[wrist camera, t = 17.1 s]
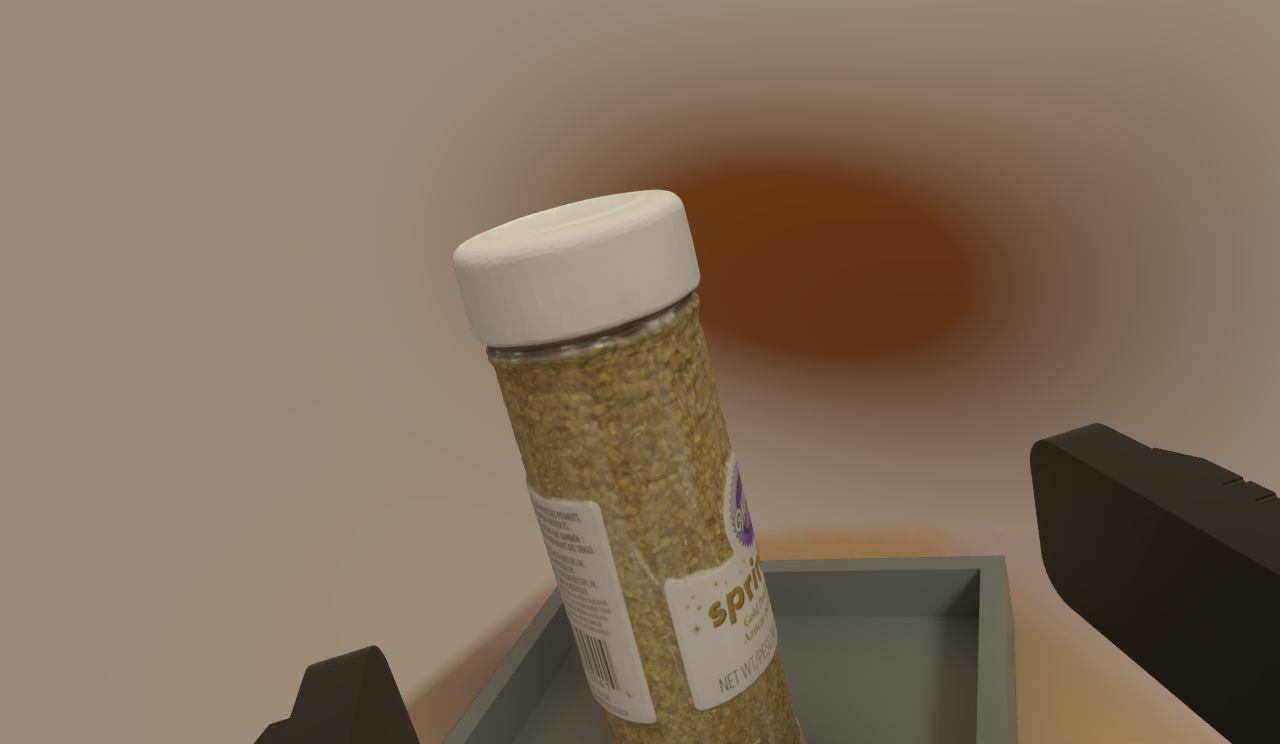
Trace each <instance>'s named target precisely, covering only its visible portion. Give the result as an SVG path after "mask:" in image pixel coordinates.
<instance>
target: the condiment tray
mask: <svg viewBox="0 0 1280 744" xmlns="http://www.w3.org/2000/svg"><path fill="white" fill-rule="evenodd" d="M760 562H761V567H762V571H763V575H764V579H765V583H766V587H767V591H768V595H769V599H770V604H771V608H772V612H773V616H774V620H775V624H776V630H777V646H778V649H779V653H780V657H781V662H782V665H783V668H784V671H785V681H786V683H787V686H788V691H789V695H790V699H791V703H792V707H793V712H794V715H795V717H796V718H797V719H798V721H799V724H800V726H801V728H802V730H803V732H804V735H805V739H806V742H807V744H1017V718H1016V686H1015V654H1014V622H1013V612H1012V605H1011V598H1010V590H1009V583H1008V576H1007V568H1006V561H1005V556H964V557H916V558H869V559H821V560H774V561H760ZM443 744H612V743H611V740H610V737H609V732H608V729H607V726H606V723H605V720H604V717H603V714H602V711H601V708H600V704H599V702H598V701H597V700H596V699H595V697H594V695H593V693H592V691H591V689H590V686H589V683H588V680H587V677H586V674H585V671H584V667H583V664H582V661H581V658H580V654H579V651H578V648H577V645H576V641H575V638H574V635H573V632H572V629H571V625H570V622H569V619H568V616H567V613H566V609H565V606H564V603H563V600H562V597H561V594H560V590H559V587H558V586H557V588H556V589H555V591H554V592H553V593H552V595H551V596H550V597H549V599H548V600H547V601H546V603H545V604H544V606H543V607H542V608H541V610H540V611H539V612H538V614H537V615H536V616H535V618H534V619H533V621H532V622H531V623H530V625H529V626H528V627H527V629H526V630H525V632H524V633H523V634H522V636H521V637H520V638H519V640H518V641H517V642H516V644H515V645H514V647H513V648H512V649H511V651H510V652H509V653H508V655H507V656H506V657H505V659H504V660H503V662H502V663H501V664H500V666H499V667H498V668H497V670H496V671H495V673H494V674H493V675H492V677H491V678H490V679H489V681H488V682H487V683H486V685H485V686H484V688H483V689H482V690H481V692H480V693H479V694H478V696H477V697H476V698H475V700H474V701H473V703H472V704H471V705H470V707H469V708H468V709H467V711H466V712H465V714H464V715H463V716H462V718H461V719H460V720H459V722H458V723H457V724H456V726H455V727H454V729H453V730H452V731H451V733H450V734H449V735H448V737H447V738H446V739H445V741H444V742H443Z"/></svg>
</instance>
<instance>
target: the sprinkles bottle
mask: <svg viewBox="0 0 1280 744" xmlns="http://www.w3.org/2000/svg"><path fill="white" fill-rule="evenodd" d="M453 267H454V270H455V274H456V278H457V281H458V285H459V289H460V292H461V296H462V299H463V303H464V306H465V310H466V313H467V316H468V320H469V323H470V326H471V330H472V332H473V336H474V337H475V339H476V340H477V341H479V342H480V343H482V344H484V345H487V349H486V353H487V355H488V360H489V362H490V363H491V364H492V365H493V366H494V368H495V371H496V374H497V379H498V383H499V385H500V388H501V391H502V395H503V400H504V403H505V405H506V407H507V410H508V414H509V418H510V421H511V424H512V428H513V430H514V435H515V439H516V442H517V444H518V447H519V450H520V453H521V455H522V461H523V464H524V467H525V470H526V474H527V476H526V482H527V488H528V491H529V494H530V498H531V501H532V504H533V507H534V510H535V513H536V517H537V519H538V523H539V526H540V529H541V532H542V535H543V539H544V542H545V545H546V548H547V551H548V555H549V558H550V561H551V564H552V568H553V571H554V574H555V577H556V581H557V584H558V587H559V590H560V594H561V597H562V600H563V603H564V606H565V609H566V613H567V616H568V619H569V622H570V625H571V629H572V632H573V635H574V638H575V641H576V645H577V648H578V651H579V654H580V658H581V661H582V664H583V667H584V671H585V674H586V677H587V680H588V683H589V686H590V689H591V691H592V693H593V695H594V697H595V699H596V700H597V701H598V702H599V704H600V708H601V711H602V714H603V717H604V720H605V723H606V726H607V729H608V732H609V737H610V740H611V743H612V744H807V742H806V739H805V735H804V732H803V730H802V728H801V726H800V724H799V721H798V719H797V718H796V717H795V715H794V712H793V707H792V703H791V699H790V695H789V691H788V686H787V683H786V681H785V671H784V668H783V665H782V662H781V657H780V653H779V649H778V646H777V630H776V624H775V620H774V616H773V612H772V608H771V604H770V599H769V595H768V591H767V587H766V583H765V579H764V575H763V571H762V567H761V562H760V558H759V554H758V549H757V544H756V540H755V535H754V532H753V528H752V524H751V520H750V515H749V511H748V507H747V503H746V499H745V496H744V492H743V487H742V483H741V479H740V475H739V471H738V467H737V462H736V458H735V455H734V452H733V450H732V448H731V445H730V442H729V438H728V435H727V431H726V426H725V425H726V424H725V420H724V417H723V414H722V410H721V404H720V399H719V394H718V391H717V388H716V384H715V379H714V377H713V374H712V365H711V362H710V360H709V356H708V352H707V347H706V341H705V338H704V334H703V329H702V326H701V324H700V320H699V313H698V310H699V298H698V295H697V293H695V292H692V291H693V290H694V289H695V288H696V287H697V285H698V283H699V281H700V273H699V268H698V264H697V259H696V255H695V250H694V245H693V241H692V237H691V234H690V229H689V226H688V222H687V217H686V214H685V210H684V206H683V204H682V201H681V199H680V198H679V197H678V196H677V195H675V194H674V193H672V192H669V191H664V190H648V191H647V190H646V191H637V192H629V193H623V194H615V195H608V196H603V197H598V198H593V199H589V200H584V201H579V202H575V203H571V204H568V205H563V206H560V207H556V208H552V209H549V210H545V211H542V212H538V213H535V214H531V215H528V216H525V217H522V218H519V219H517V220H514V221H511V222H508V223H506V224H503V225H501V226H498V227H495V228H493V229H490V230H488V231H486V232H483V233H481V234H478V235H476V236H474V237H473V238H471V239H469V240H467V241H465V242H464V243H462V244H461V245H460V246H459V247H458V248H457V249H456V251H455V253H454V255H453Z"/></svg>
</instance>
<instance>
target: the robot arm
mask: <svg viewBox="0 0 1280 744" xmlns="http://www.w3.org/2000/svg"><path fill="white" fill-rule="evenodd" d="M1030 466H1031V474H1032V482H1033V489H1034V497H1035V506H1036V514H1037V522H1038V530H1039V538H1040V546H1041V553H1042V559H1043V563H1044V566H1045V569H1046V572H1047V574H1048V576H1049V579H1050V581H1051V583H1052V584H1053V586H1054V588H1055V590H1056V591H1057V593H1058V594H1059V595H1060V597H1061V598H1062V599H1063V601H1064V602H1065V603H1066V604H1067V605H1068V606H1069V607H1070V608H1072V609H1073V610H1074V611H1075V612H1076V613H1078V614H1079V615H1080V616H1081V617H1082V618H1083V619H1085V620H1086V621H1087V622H1088V623H1089V624H1091V625H1092V626H1093V627H1094V628H1095V629H1096V630H1098V631H1099V632H1100V633H1101V634H1102V635H1104V636H1105V637H1106V638H1107V639H1108V640H1110V641H1111V642H1112V643H1113V644H1114V645H1115V646H1117V647H1118V648H1119V649H1120V650H1121V651H1123V652H1124V653H1125V654H1126V655H1127V656H1128V657H1130V658H1131V659H1132V660H1133V661H1134V662H1136V663H1137V664H1138V665H1139V666H1140V667H1142V668H1143V669H1144V670H1145V671H1146V672H1147V673H1149V674H1150V675H1151V676H1152V677H1153V678H1155V679H1156V680H1157V681H1158V682H1159V683H1161V684H1162V685H1163V686H1164V687H1165V688H1166V689H1168V690H1169V691H1170V692H1171V693H1172V694H1174V695H1175V696H1176V697H1177V698H1178V699H1179V700H1181V701H1182V702H1183V703H1184V704H1185V705H1187V706H1188V707H1189V708H1190V709H1191V710H1193V711H1194V712H1195V713H1196V714H1197V715H1198V716H1200V717H1201V718H1202V719H1203V720H1204V721H1206V722H1207V723H1208V724H1209V725H1210V726H1211V727H1213V728H1214V729H1215V730H1216V731H1217V732H1219V733H1220V734H1221V735H1222V736H1223V737H1225V738H1226V739H1227V740H1228V741H1229V742H1230V743H1232V744H1280V498H1278V497H1277V496H1276V493H1274V492H1273V491H1271V490H1268V489H1266V488H1264V487H1262V486H1260V485H1258V484H1256V483H1254V482H1252V481H1249V482H1245V481H1244V480H1243V477H1241V476H1239V475H1237V474H1235V473H1233V472H1231V471H1229V470H1227V469H1225V468H1222V467H1220V466H1218V465H1216V464H1214V463H1212V462H1209V461H1207V460H1205V459H1203V458H1198V457H1194V456H1190V455H1185V454H1180V453H1175V452H1171V451H1167V450H1162V449H1158V448H1153V449H1152V448H1150V447H1148V446H1145V445H1144V444H1141V443H1139V442H1137V441H1136V440H1134V439H1132V438H1129V437H1127V436H1126V435H1124V434H1121V433H1120V432H1117V431H1116V430H1113V429H1112V428H1110V427H1108V426H1105V425H1103V424H1098V423H1095V424H1091V425H1088V426H1084V427H1081V428H1078V429H1075V430H1071V431H1068V432H1065V433H1062V434H1059V435H1055V436H1053V437H1049V438H1046V439H1042V440H1039V441H1037V442H1036V443H1035V444H1034V445H1033V447H1032V449H1031V453H1030ZM254 744H420V743H419V740H418V738H417V735H416V733H415V730H414V728H413V725H412V722H411V720H410V717H409V715H408V712H407V710H406V707H405V705H404V702H403V700H402V697H401V695H400V693H399V690H398V687H397V685H396V682H395V680H394V677H393V675H392V672H391V670H390V667H389V665H388V662H387V660H386V658H385V656H384V654H383V653H382V651H381V650H380V649H379V648H378V647H377V646H374V645H373V646H370V647H366V648H363V649H360V650H357V651H354V652H351V653H347V654H344V655H341V656H337V657H334V658H331V659H328V660H325V661H321V662H318V663H315V664H312V665H310V666H308V668H307V669H306V672H305V674H304V677H303V680H302V683H301V686H300V689H299V692H298V695H297V698H296V701H295V704H294V707H293V710H292V713H291V716H290V718H288V719H285V720H282V721H279V722H276V723H272V724H270V725H269V726H268V727H267V728H266V729H265V731H264V732H263V733H262V734H261V735H260V737H259V738H258V739H257V740H256V742H255V743H254Z"/></svg>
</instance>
